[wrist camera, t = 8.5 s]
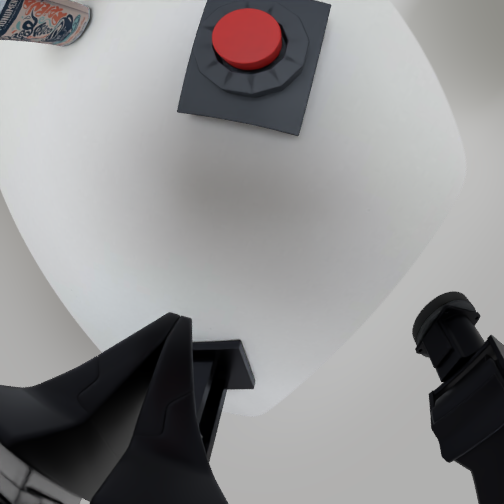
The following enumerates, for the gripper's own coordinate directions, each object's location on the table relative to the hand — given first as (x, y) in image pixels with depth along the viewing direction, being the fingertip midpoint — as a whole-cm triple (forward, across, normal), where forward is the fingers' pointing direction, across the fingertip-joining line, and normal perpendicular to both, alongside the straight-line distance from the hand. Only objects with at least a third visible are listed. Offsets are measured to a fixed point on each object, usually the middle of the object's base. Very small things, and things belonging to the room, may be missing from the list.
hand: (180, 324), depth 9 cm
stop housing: (+13, +1, -12) cm, 18 cm away
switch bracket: (+13, +1, +18) cm, 23 cm away
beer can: (+13, +20, -16) cm, 29 cm away
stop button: (+9, +1, -12) cm, 15 cm away
